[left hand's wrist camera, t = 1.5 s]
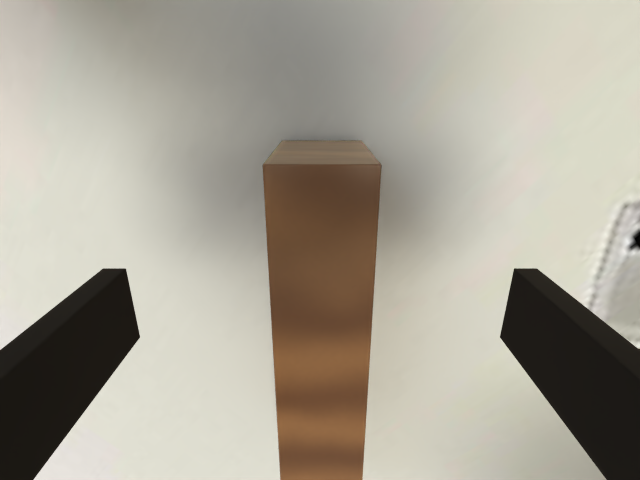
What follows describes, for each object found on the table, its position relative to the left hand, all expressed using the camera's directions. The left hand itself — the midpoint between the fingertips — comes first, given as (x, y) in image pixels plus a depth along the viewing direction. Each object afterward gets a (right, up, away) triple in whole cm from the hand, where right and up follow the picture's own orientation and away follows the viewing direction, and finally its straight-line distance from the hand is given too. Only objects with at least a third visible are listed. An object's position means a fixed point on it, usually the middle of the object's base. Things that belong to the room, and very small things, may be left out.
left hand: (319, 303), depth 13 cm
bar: (0, -2, +17) cm, 17 cm away
